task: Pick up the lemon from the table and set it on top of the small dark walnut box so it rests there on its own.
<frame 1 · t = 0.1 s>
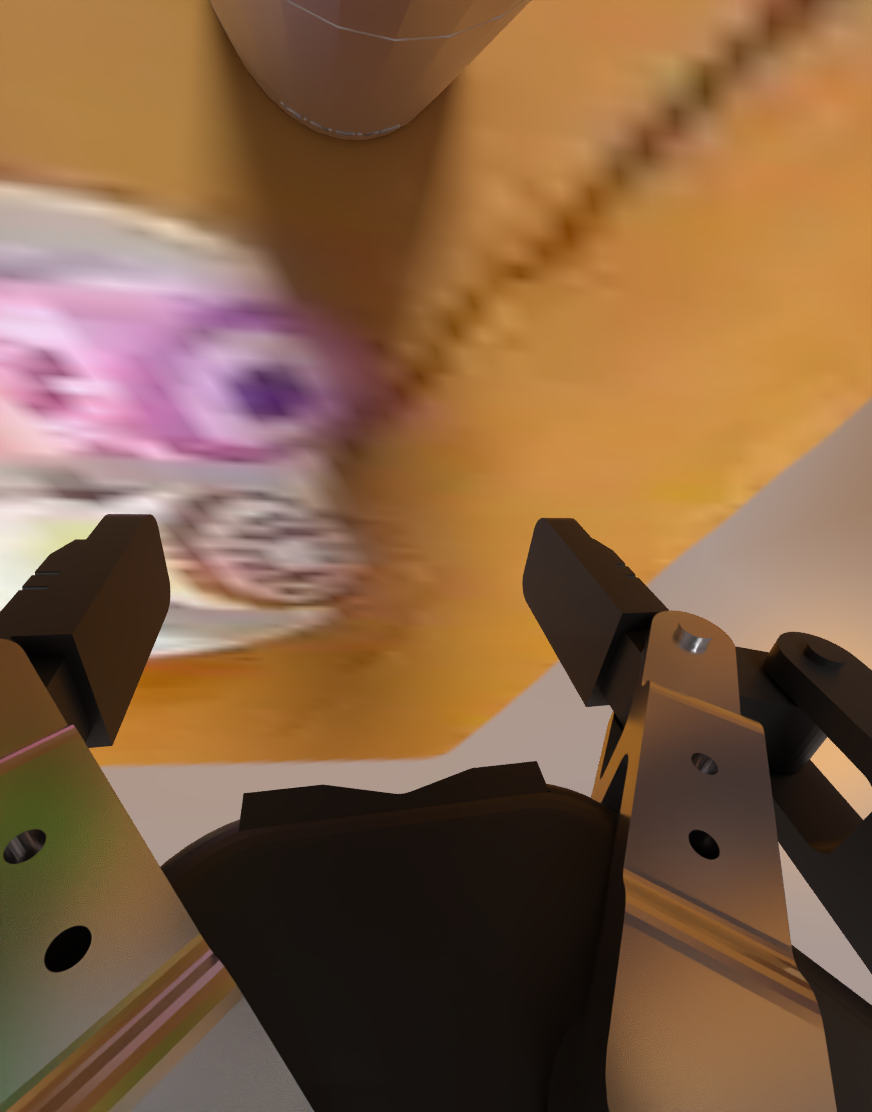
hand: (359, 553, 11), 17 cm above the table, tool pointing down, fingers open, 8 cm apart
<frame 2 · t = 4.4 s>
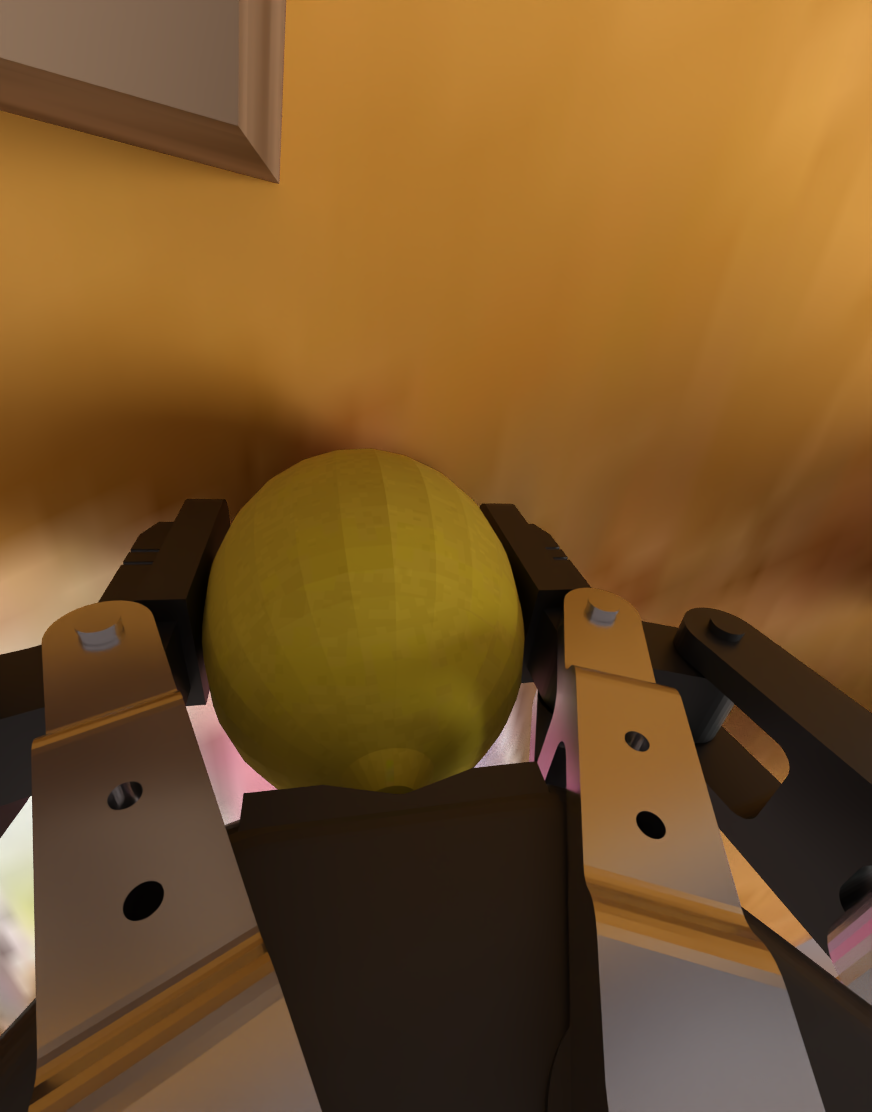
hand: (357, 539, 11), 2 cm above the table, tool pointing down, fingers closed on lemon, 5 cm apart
lemon: (355, 507, 13), on the table, touching gripper
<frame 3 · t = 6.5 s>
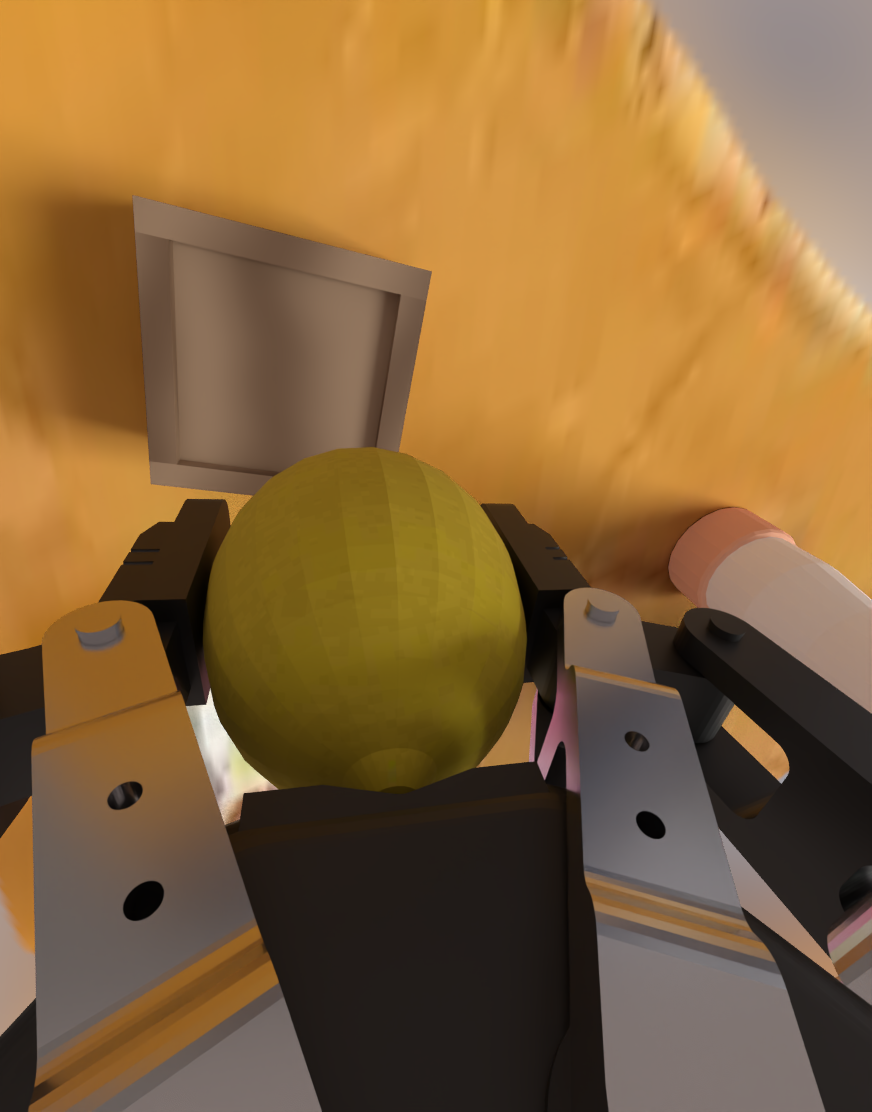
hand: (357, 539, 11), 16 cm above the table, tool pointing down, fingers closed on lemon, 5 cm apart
lemon: (356, 506, 13), point 15 cm above the table, touching gripper
salt shaker: (712, 550, 36), on the table
walnut box: (291, 358, 24), on the table
when the fingers open (8 cm above the table, at t = 8.6 s): lemon drops 2 cm, resting on walnut box.
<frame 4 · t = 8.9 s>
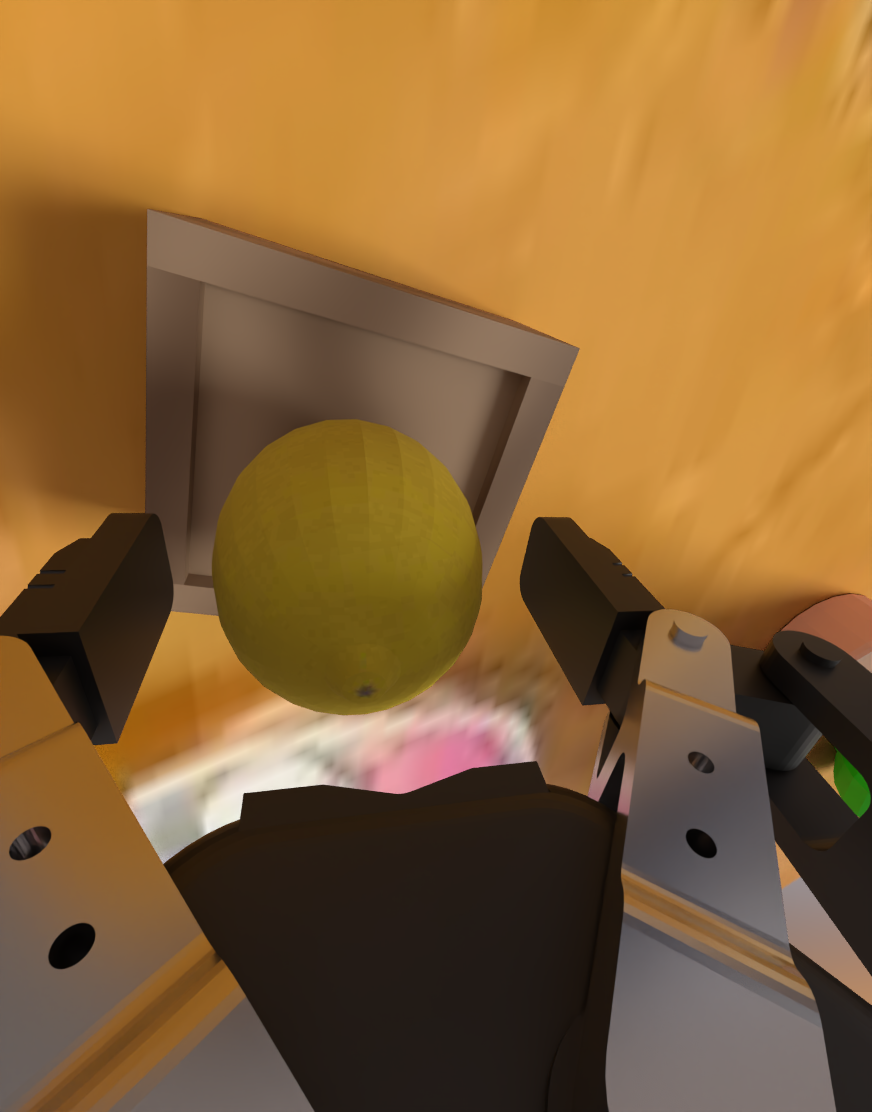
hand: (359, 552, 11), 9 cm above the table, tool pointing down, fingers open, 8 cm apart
lemon: (345, 479, 14), point 4 cm above the table, touching walnut box
salt shaker: (815, 638, 31), on the table
walnut box: (342, 423, 18), on the table, touching lemon
plastic bottle: (864, 730, 38), on the table
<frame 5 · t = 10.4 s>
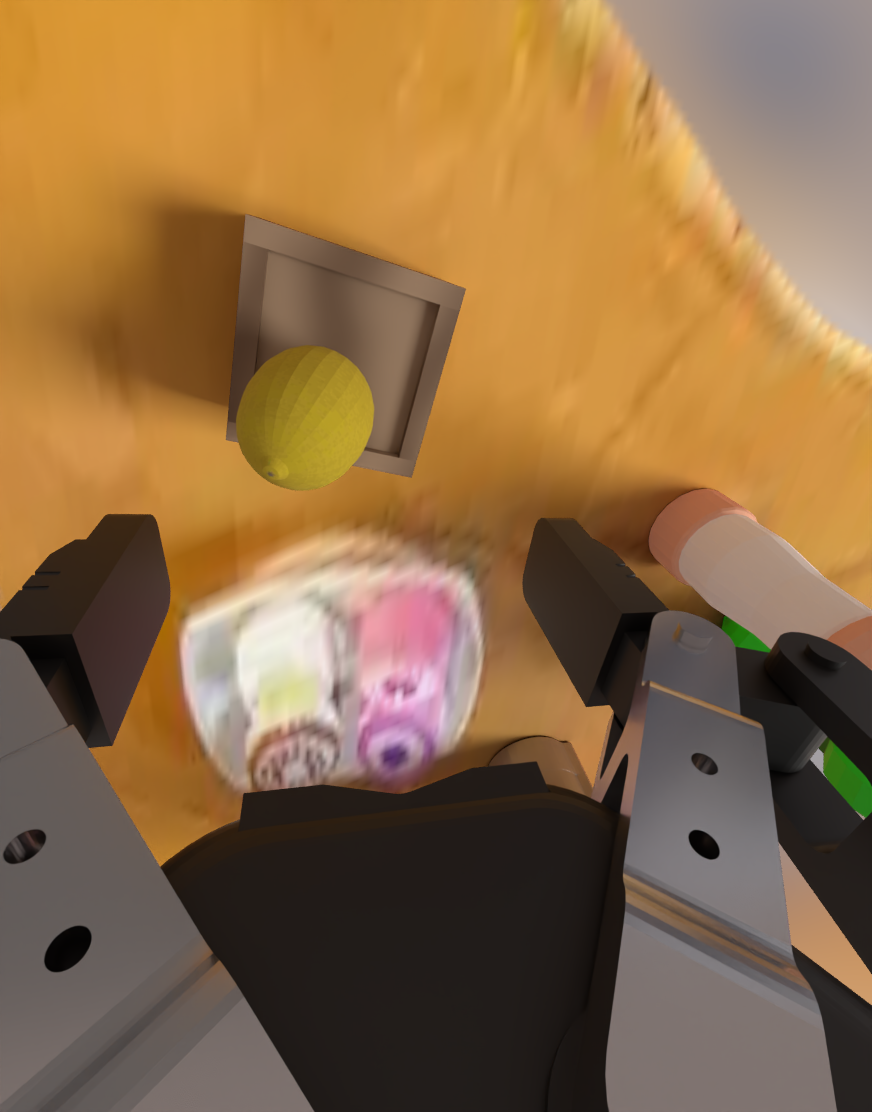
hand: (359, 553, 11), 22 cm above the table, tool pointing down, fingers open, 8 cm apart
lemon: (341, 370, 25), point 5 cm above the table, touching walnut box
salt shaker: (687, 526, 42), on the table
walnut box: (338, 346, 29), on the table, touching lemon
plastic bottle: (744, 615, 49), on the table
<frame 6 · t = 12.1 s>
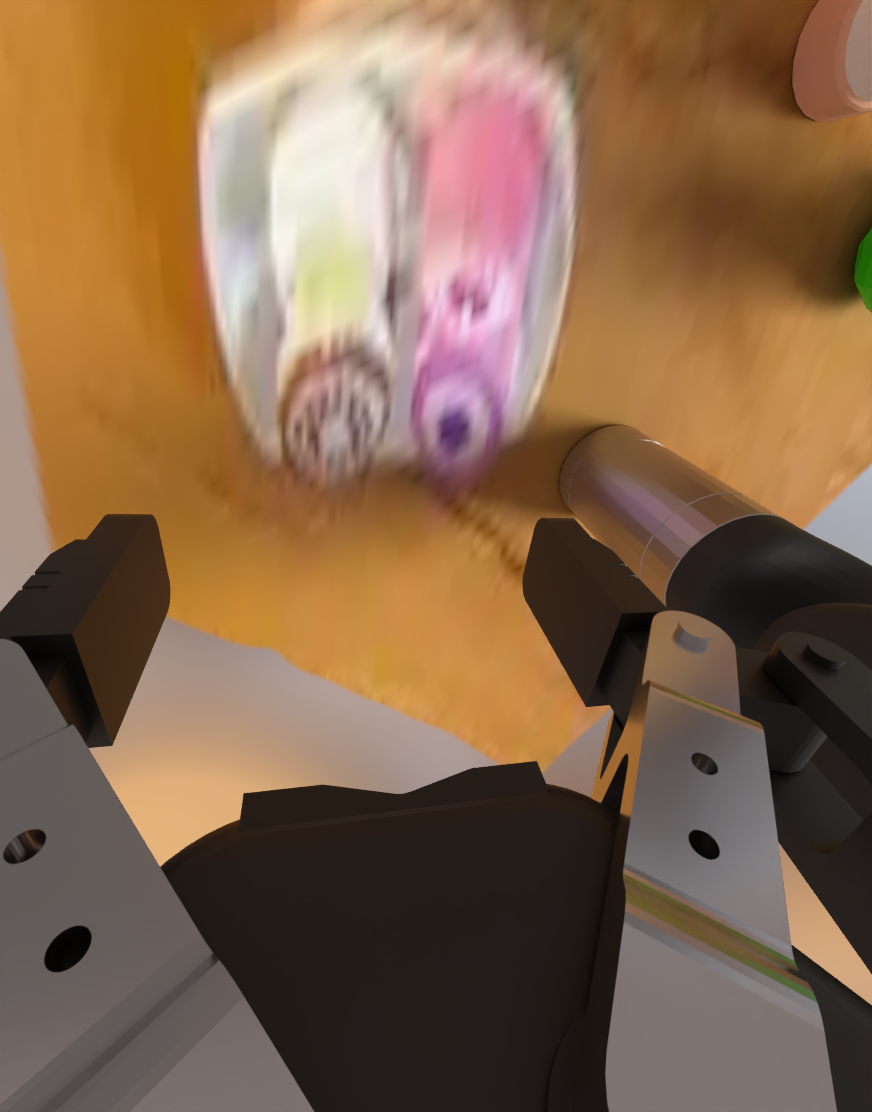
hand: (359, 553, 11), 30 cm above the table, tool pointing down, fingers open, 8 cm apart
salt shaker: (841, 50, 33), on the table
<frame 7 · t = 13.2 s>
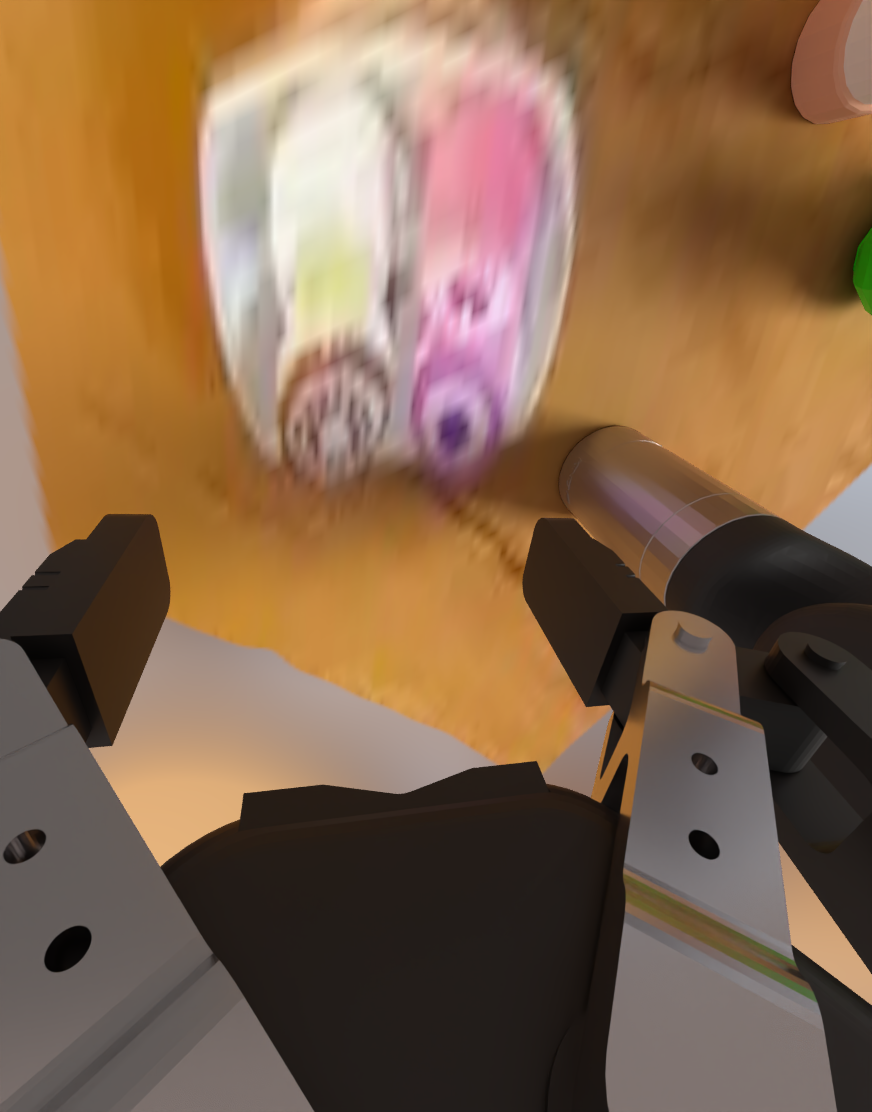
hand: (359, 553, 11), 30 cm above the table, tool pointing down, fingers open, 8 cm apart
salt shaker: (839, 53, 33), on the table
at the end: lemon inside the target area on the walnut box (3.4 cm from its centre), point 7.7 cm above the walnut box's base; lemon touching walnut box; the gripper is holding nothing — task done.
